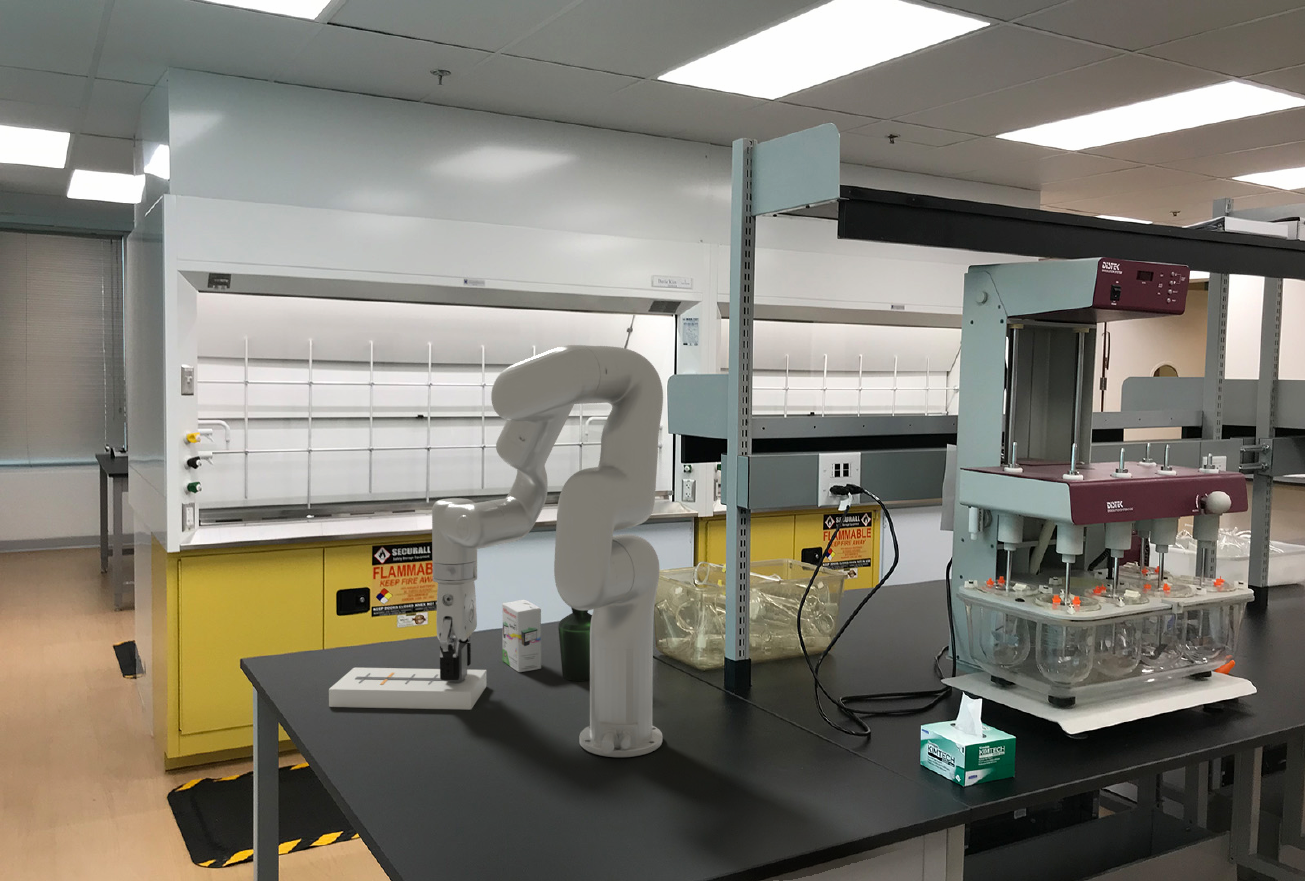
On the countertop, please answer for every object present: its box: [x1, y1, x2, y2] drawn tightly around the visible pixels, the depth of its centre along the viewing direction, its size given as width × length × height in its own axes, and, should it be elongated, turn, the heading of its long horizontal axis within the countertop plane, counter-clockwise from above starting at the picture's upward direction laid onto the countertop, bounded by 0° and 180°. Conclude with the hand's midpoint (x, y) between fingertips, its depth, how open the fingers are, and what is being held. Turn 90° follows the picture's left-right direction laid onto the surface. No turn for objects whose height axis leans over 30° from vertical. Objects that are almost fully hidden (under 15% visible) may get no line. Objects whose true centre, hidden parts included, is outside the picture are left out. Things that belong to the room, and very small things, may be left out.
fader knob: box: [444, 642, 468, 682], centre depth 164 cm, size 4×3×6 cm
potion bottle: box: [557, 607, 592, 682], centre depth 176 cm, size 8×8×18 cm
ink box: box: [501, 599, 542, 673], centre depth 183 cm, size 8×5×12 cm, turn 30°
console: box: [328, 667, 487, 710], centre depth 165 cm, size 12×24×3 cm, turn 88°
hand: (455, 671), depth 165 cm, fingers open, 7 cm apart
